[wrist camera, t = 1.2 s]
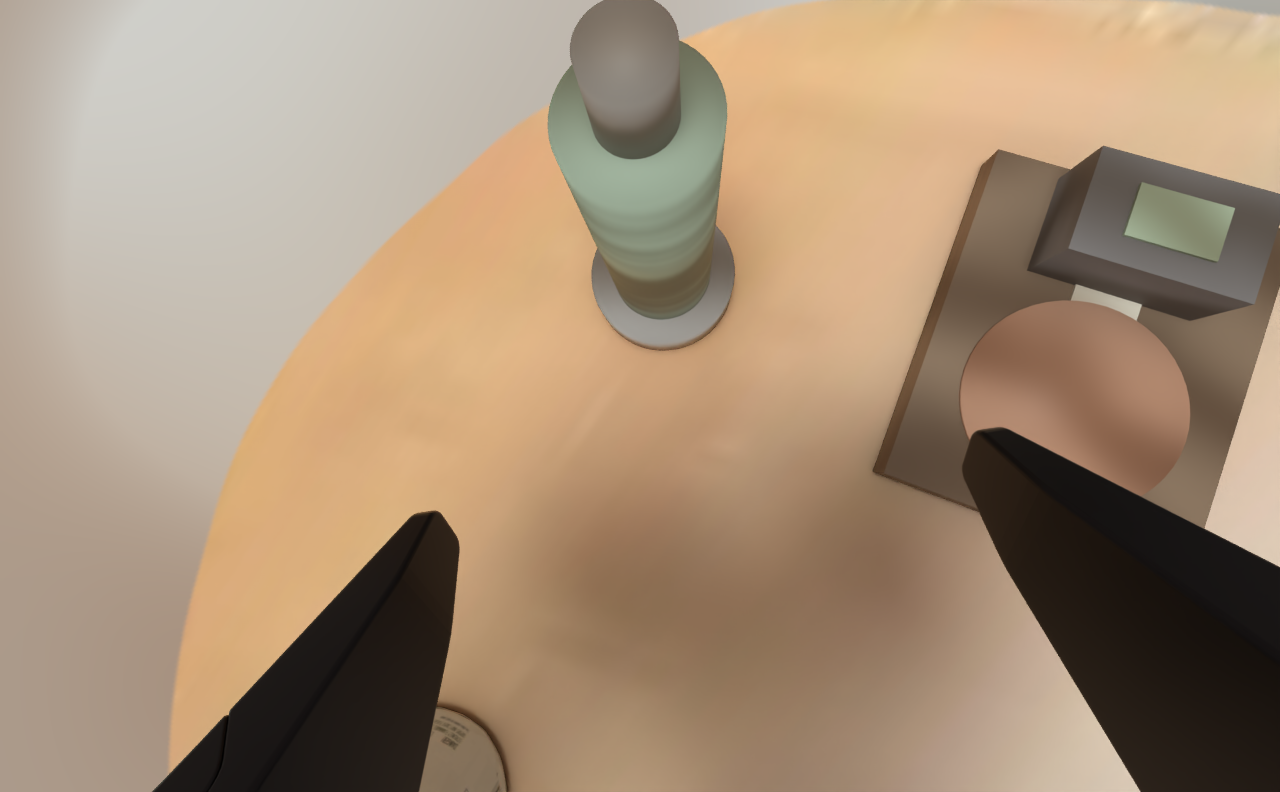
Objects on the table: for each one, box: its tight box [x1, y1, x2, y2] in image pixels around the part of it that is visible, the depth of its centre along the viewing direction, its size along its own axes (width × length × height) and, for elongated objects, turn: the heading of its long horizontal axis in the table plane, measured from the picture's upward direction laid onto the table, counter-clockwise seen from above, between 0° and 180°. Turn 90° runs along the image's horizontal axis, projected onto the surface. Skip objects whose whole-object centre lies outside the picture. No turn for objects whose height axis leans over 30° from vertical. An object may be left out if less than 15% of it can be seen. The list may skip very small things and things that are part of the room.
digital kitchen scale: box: [873, 146, 1280, 528], centre depth 19 cm, size 14×11×4 cm
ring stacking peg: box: [548, 0, 735, 350], centre depth 16 cm, size 6×6×14 cm
